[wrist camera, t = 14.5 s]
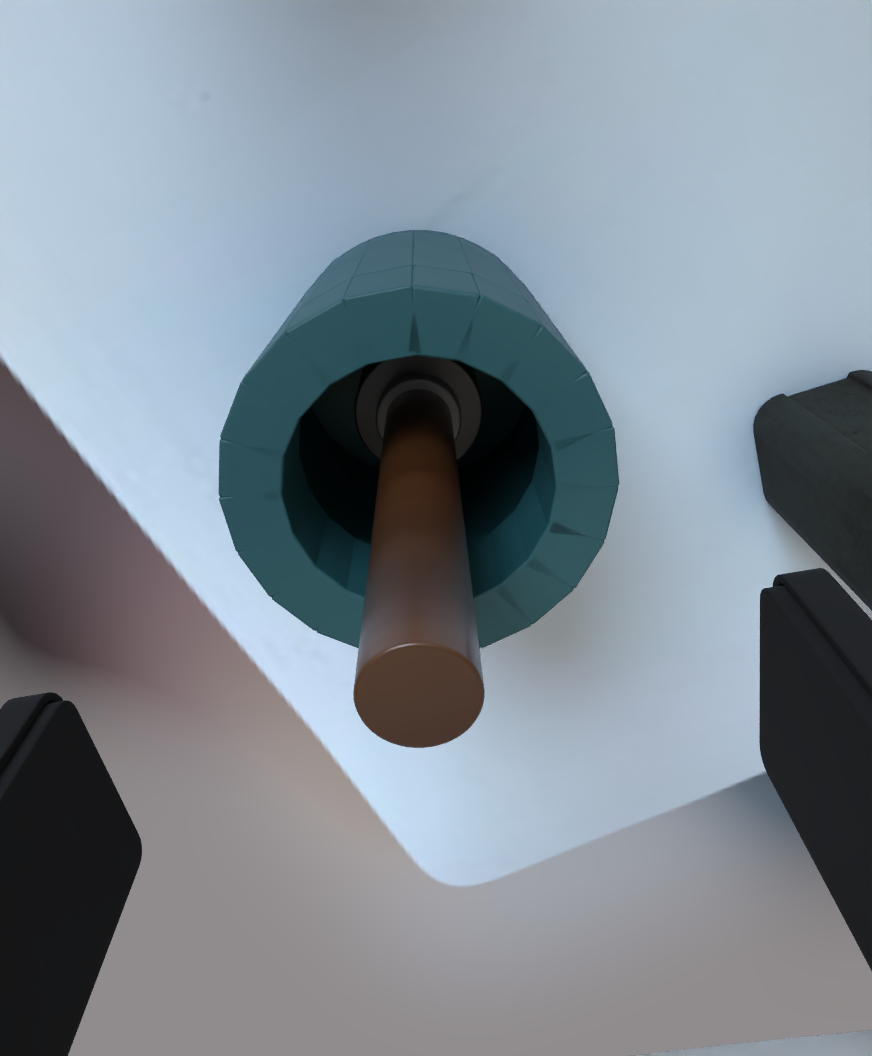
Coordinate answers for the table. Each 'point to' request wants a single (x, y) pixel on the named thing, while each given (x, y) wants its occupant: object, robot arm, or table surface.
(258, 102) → the table surface
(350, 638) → the teal hollow cylinder
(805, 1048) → the robot arm
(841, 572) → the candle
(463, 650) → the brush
